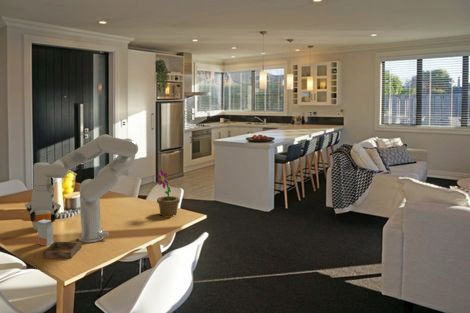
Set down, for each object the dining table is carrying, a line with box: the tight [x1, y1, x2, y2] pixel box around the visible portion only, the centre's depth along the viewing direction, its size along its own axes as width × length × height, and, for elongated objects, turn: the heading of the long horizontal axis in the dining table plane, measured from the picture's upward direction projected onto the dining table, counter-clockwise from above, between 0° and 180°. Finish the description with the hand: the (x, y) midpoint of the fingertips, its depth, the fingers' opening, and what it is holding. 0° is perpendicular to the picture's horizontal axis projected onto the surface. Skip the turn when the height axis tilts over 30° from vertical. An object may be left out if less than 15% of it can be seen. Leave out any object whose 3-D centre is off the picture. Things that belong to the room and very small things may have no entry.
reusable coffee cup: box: [29, 205, 52, 232], centre depth 218 cm, size 13×13×15 cm
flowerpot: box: [156, 168, 181, 217], centre depth 247 cm, size 14×14×30 cm
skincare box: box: [37, 219, 55, 247], centre depth 195 cm, size 6×4×12 cm
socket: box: [42, 241, 82, 259], centre depth 185 cm, size 13×13×3 cm
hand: (43, 221), depth 194 cm, fingers open, 9 cm apart
